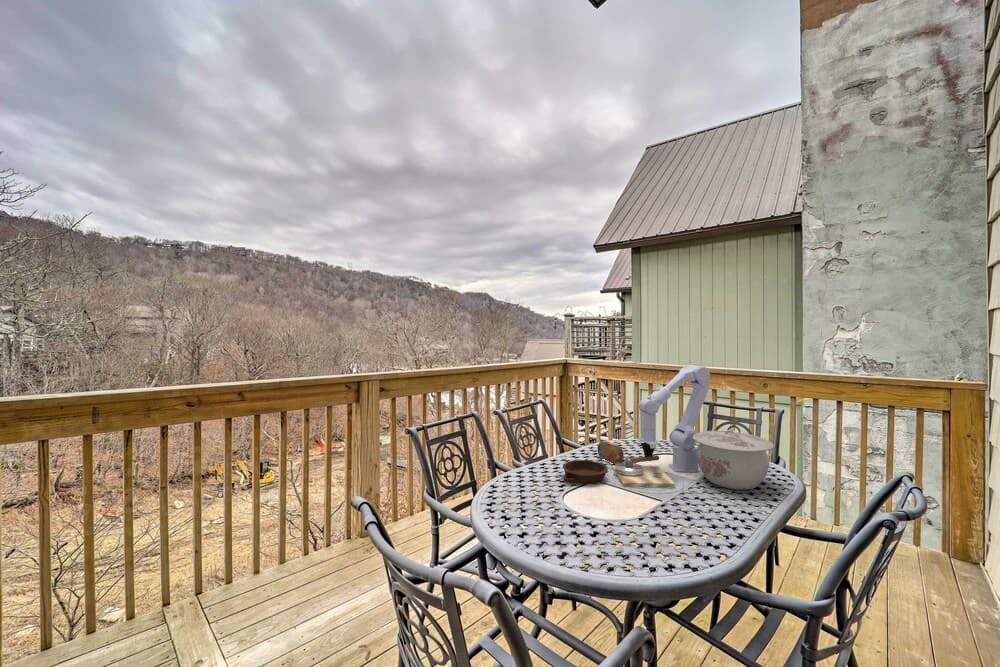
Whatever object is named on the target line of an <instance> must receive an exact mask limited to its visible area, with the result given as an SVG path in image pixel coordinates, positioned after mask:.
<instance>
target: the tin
mask: <svg viewBox="0 0 1000 667" xmlns="http://www.w3.org/2000/svg"><path fill="white" fill-rule="evenodd" d="M597 454H598V457H599V458H600V459H601V458H602V459H605V460H607V461H609V462H611V463H613V464H617V463H621V462H624V456H625V454H624V449H623V448H622V446H620V445H618V444H615V443H612V442H610V441H608V440H607V441H603V440H602V441H600V442H599V443H598V444H597ZM602 459H601V460H602ZM611 463H610V464H611ZM613 464H612V465H613Z"/></svg>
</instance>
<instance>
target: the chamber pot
mask: <svg viewBox="0 0 1000 667" xmlns="http://www.w3.org/2000/svg"><path fill="white" fill-rule="evenodd" d="M693 439H694V440H695V442H697V443H698V445H697V447H696V450H697V460H698V469H700V471H701V472H702V474H703V476H704V478H706V480H707V481H709V482H711V483H712V484H713V485H716V486H718V487H720V488H723V489H728V488H729V490H734V489H735V490H736V491H744V490H752V489H755V488H757V487H758V486H760V484H761V483H763V481H764V479H765V478H766V476H767V475H768V471H769V469H770V457H769V455H768V453H767V451H771V450H773V449H774V447H775V444H774V443H773V442H772V441H769V440H768V439H766V438H763V437H761V436H758V435H754V434H750V433H745V432H740V431H735V430H733V429H726V430H705V431H700V432H696V434H694V435H693Z"/></svg>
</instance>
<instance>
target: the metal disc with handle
mask: <svg viewBox="0 0 1000 667" xmlns="http://www.w3.org/2000/svg"><path fill="white" fill-rule="evenodd" d="M659 460H660V455H652V456H646V457H645V456H638V457H625V459H624V461H623V462H621V463H617V464H615V465H614V466H615V471H616V472H617V473H619V474H622V475H627V476H639V475H642V474H643V466H644V465H641V464H639V463H643V462H653V461H659Z"/></svg>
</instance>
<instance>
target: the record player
mask: <svg viewBox="0 0 1000 667" xmlns="http://www.w3.org/2000/svg"><path fill="white" fill-rule="evenodd" d="M642 466H643V474H642V475H639V476H627V475H622V474H619V473H617V472H616V471H615V465H613V464H612V470H614V471H613V472H614V474H615V473H616V474H615V476H616V475H617V476H616V477H617V479H618V480H620V481H619V482H620V484H621V485H622V487H623V486H624V488H626V486H627V488H631V487H632V488H667V487H675V486H676V484H675V482H674V481H673V480H672V479H671V478H670V477H669V475H667V474H666V473H665V471H664V470H663V469H662V468H661V467H660V466H658V465H642ZM647 486H648V487H647ZM653 486H655V487H653Z"/></svg>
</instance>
